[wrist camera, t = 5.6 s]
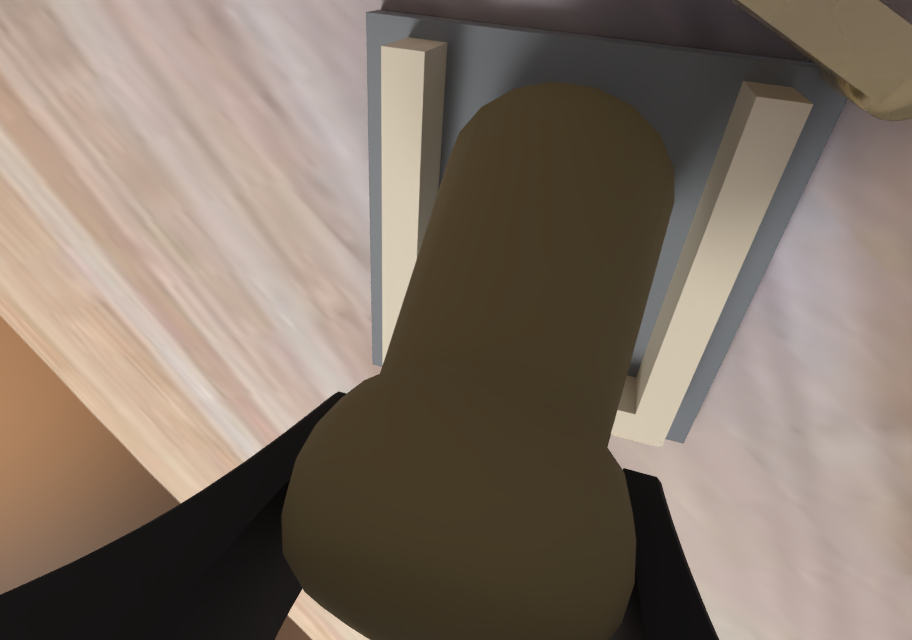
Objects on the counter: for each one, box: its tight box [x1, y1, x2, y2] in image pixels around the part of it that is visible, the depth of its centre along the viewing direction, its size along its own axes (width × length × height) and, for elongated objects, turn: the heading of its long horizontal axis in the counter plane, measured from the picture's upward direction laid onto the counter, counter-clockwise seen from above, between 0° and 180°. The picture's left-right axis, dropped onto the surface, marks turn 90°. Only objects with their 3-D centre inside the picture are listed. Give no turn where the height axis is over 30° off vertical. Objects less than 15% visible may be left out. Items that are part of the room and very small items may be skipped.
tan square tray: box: [366, 10, 847, 448], centre depth 18 cm, size 13×13×3 cm
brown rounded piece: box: [281, 82, 674, 640], centre depth 11 cm, size 6×6×11 cm
